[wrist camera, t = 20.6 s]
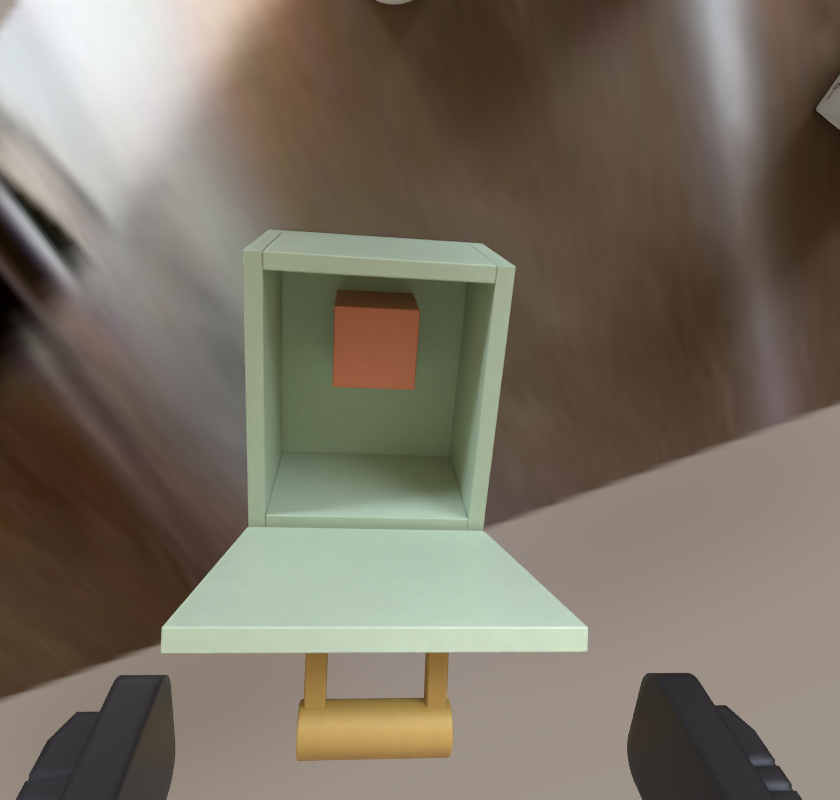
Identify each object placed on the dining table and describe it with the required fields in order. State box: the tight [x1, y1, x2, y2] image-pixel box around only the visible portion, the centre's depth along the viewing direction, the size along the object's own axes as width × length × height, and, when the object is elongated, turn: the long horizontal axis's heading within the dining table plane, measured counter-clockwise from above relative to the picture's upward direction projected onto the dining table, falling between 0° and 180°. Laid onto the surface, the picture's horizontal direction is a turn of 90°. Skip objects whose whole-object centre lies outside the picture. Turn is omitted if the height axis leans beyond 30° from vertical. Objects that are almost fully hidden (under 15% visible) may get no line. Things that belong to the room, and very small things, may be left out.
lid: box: [161, 527, 588, 761], centre depth 27 cm, size 16×13×5 cm
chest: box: [243, 230, 516, 531], centre depth 37 cm, size 15×13×9 cm
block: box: [332, 290, 420, 390], centre depth 37 cm, size 5×5×5 cm
